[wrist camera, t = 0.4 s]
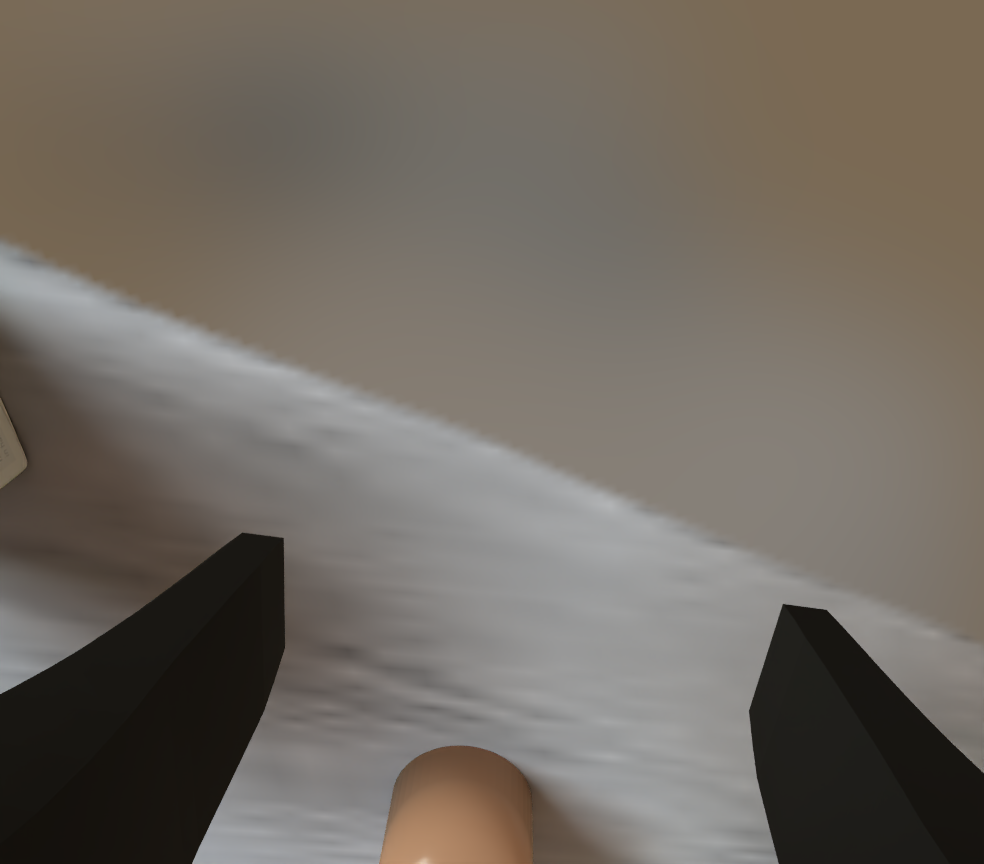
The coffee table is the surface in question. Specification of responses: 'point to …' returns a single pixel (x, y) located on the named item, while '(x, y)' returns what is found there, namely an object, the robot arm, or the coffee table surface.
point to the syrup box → (9, 450)
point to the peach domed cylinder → (459, 811)
